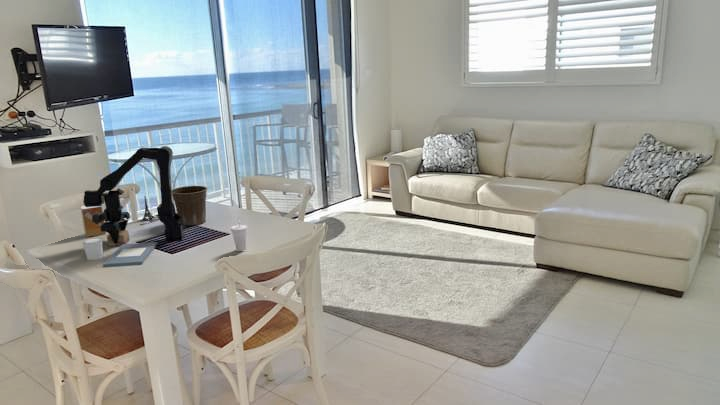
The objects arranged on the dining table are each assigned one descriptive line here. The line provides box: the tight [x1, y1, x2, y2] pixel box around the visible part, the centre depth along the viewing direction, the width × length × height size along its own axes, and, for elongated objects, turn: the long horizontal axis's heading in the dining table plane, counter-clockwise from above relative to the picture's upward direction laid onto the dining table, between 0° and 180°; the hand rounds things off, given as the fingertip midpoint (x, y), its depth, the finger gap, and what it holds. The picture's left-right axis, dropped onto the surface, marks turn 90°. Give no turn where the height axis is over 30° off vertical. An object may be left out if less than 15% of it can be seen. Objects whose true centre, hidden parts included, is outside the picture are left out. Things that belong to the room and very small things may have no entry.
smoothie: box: [230, 215, 248, 252], centre depth 205 cm, size 6×6×14 cm
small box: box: [79, 205, 107, 238], centre depth 231 cm, size 8×6×13 cm
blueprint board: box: [102, 241, 158, 267], centre depth 205 cm, size 14×22×1 cm, turn 6°
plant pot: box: [171, 185, 208, 227], centre depth 243 cm, size 16×16×16 cm
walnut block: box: [106, 229, 130, 247], centre depth 219 cm, size 7×7×4 cm
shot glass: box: [82, 237, 104, 261], centre depth 203 cm, size 7×7×7 cm
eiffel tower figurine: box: [139, 195, 160, 226], centre depth 250 cm, size 15×10×13 cm
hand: (118, 240), depth 220 cm, fingers closed on walnut block, 7 cm apart
